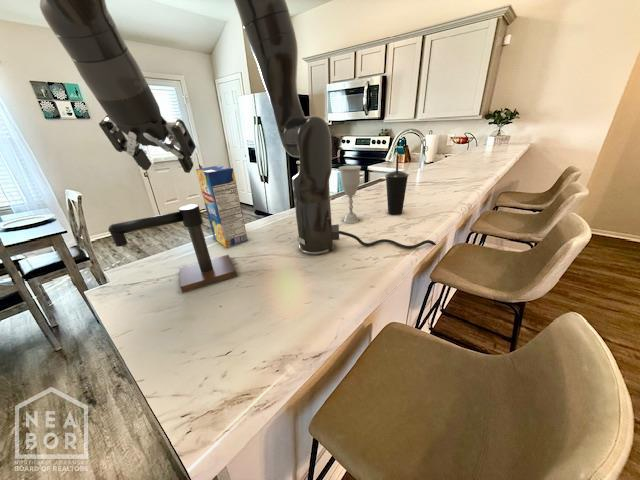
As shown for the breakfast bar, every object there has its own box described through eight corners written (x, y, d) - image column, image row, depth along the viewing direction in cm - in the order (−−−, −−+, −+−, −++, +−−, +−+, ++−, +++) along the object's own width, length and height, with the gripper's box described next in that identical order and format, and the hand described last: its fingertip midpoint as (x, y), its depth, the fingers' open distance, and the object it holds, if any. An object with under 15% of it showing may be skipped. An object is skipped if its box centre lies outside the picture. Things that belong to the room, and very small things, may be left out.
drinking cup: (383, 210, 98) (384, 154, 90) (404, 209, 97) (407, 153, 89) (384, 217, 92) (386, 157, 83) (407, 216, 90) (411, 156, 82)
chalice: (364, 218, 92) (364, 165, 84) (356, 225, 87) (355, 169, 79) (346, 216, 95) (344, 165, 88) (337, 222, 90) (334, 169, 83)
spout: (203, 224, 62) (197, 203, 60) (205, 229, 59) (199, 207, 56) (117, 242, 55) (107, 219, 53) (113, 249, 52) (103, 225, 50)
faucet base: (229, 259, 71) (218, 213, 66) (237, 276, 63) (225, 225, 57) (181, 272, 66) (164, 224, 61) (182, 292, 58) (163, 239, 53)
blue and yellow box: (226, 247, 78) (208, 172, 69) (213, 237, 86) (195, 169, 77) (248, 240, 82) (233, 168, 73) (233, 231, 90) (218, 165, 80)
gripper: (174, 76, 42) (208, 158, 55) (87, 70, 42) (142, 154, 56) (155, 101, 38) (196, 184, 51) (58, 95, 38) (125, 179, 51)
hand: (168, 168), depth 53 cm, fingers open, 8 cm apart
